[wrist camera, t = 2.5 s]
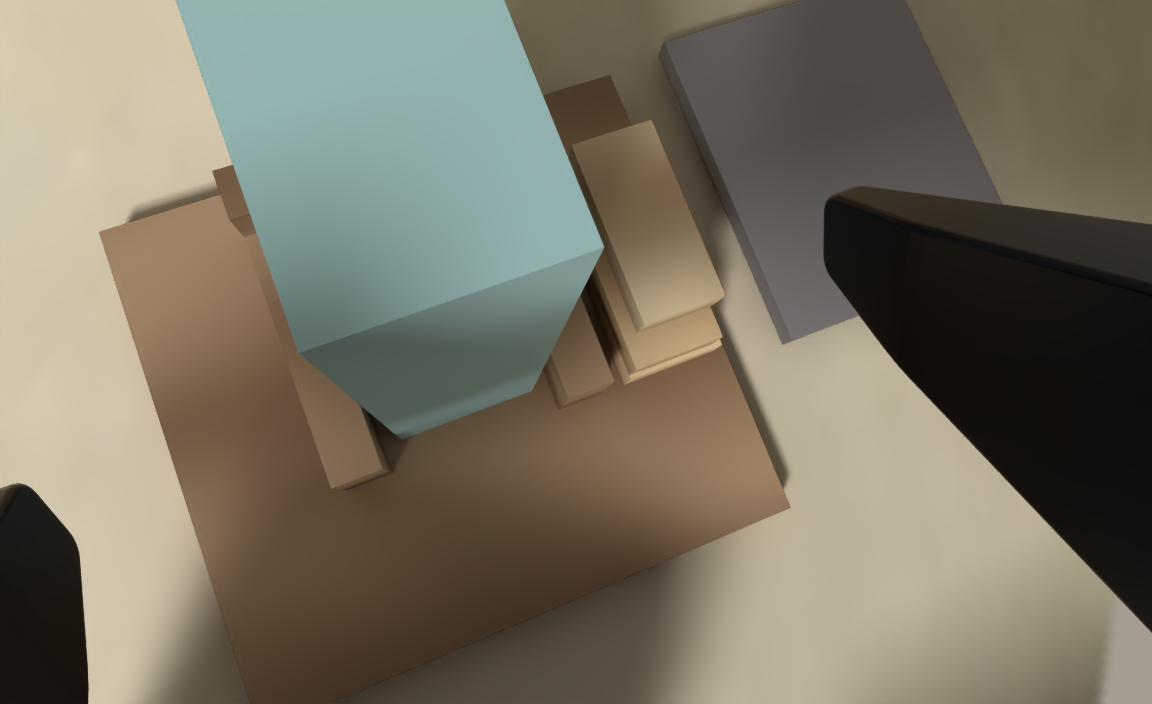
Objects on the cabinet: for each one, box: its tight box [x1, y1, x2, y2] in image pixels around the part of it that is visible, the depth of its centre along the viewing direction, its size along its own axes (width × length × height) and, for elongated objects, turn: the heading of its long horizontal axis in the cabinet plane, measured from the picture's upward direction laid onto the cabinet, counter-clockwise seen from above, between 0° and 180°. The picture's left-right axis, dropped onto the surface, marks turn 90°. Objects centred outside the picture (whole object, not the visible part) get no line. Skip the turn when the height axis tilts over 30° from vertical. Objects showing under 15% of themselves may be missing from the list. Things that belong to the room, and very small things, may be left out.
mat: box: [659, 0, 1002, 344], centre depth 21 cm, size 8×7×1 cm
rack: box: [99, 75, 791, 704], centre depth 17 cm, size 11×12×4 cm
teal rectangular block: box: [176, 0, 604, 440], centre depth 13 cm, size 4×3×10 cm
